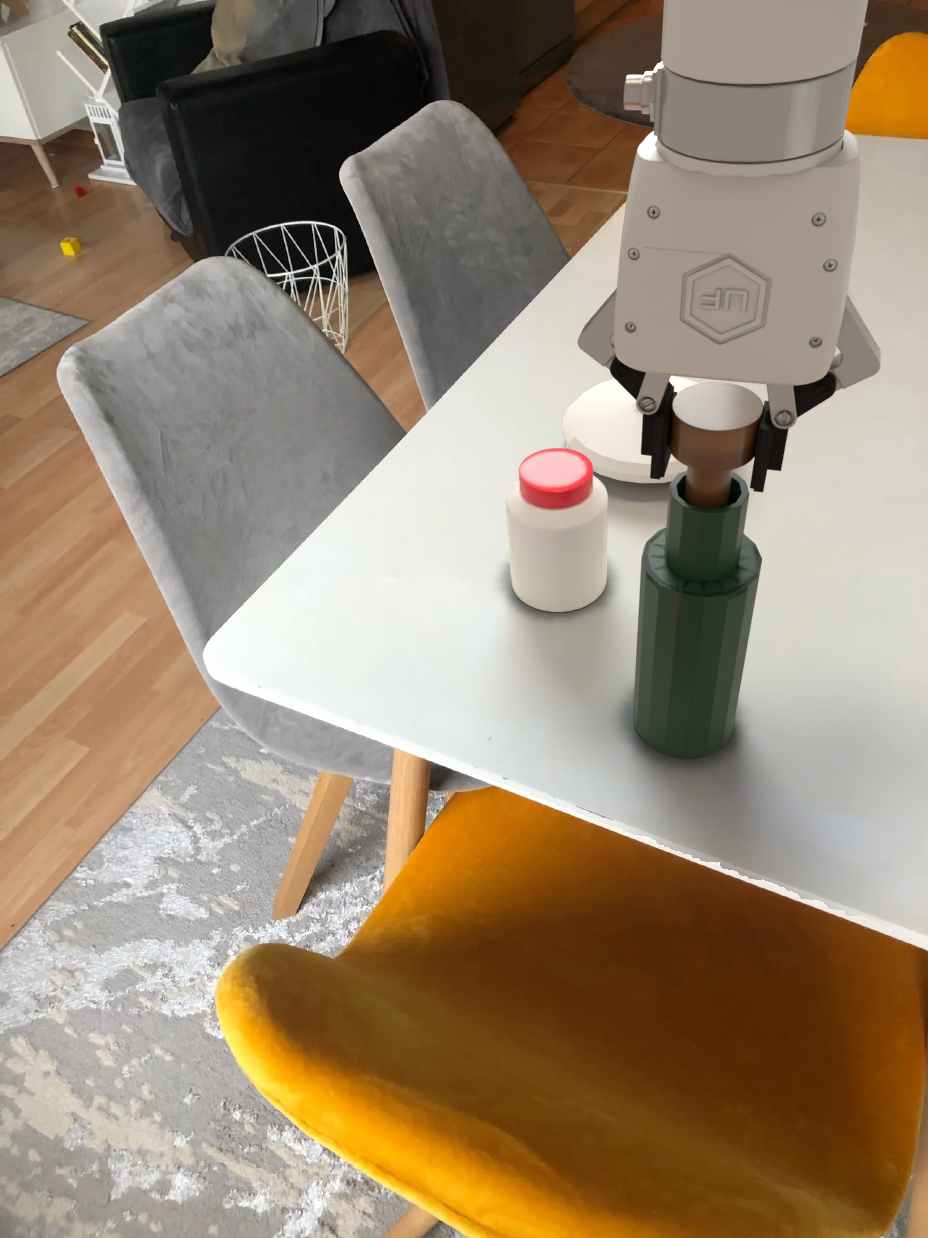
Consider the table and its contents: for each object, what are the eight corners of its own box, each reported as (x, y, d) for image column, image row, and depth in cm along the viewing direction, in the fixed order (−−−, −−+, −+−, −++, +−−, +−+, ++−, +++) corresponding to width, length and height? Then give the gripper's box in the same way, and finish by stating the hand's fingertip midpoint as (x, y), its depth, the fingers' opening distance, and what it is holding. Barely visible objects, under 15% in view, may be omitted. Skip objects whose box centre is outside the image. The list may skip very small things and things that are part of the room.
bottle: (754, 733, 65) (800, 500, 51) (671, 774, 64) (695, 544, 50) (694, 669, 70) (721, 439, 56) (614, 706, 68) (622, 478, 54)
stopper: (764, 520, 53) (783, 412, 48) (695, 549, 52) (707, 441, 47) (713, 478, 56) (725, 372, 51) (647, 504, 55) (653, 399, 50)
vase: (705, 519, 82) (712, 450, 77) (535, 481, 88) (532, 415, 83) (753, 421, 91) (763, 354, 86) (598, 392, 97) (598, 328, 92)
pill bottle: (577, 625, 74) (576, 513, 67) (493, 592, 78) (483, 482, 70) (623, 566, 79) (627, 455, 71) (542, 537, 82) (537, 429, 74)
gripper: (527, 134, 39) (540, 492, 52) (981, 145, 34) (873, 536, 47) (571, 76, 44) (574, 416, 57) (975, 78, 39) (878, 449, 52)
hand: (710, 467), depth 52 cm, fingers closed on stopper, 4 cm apart
